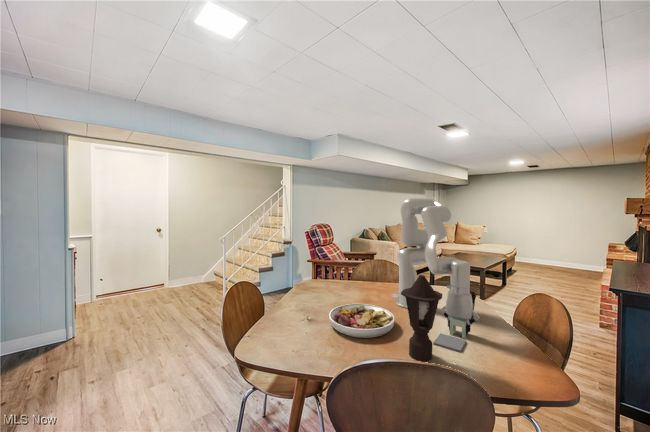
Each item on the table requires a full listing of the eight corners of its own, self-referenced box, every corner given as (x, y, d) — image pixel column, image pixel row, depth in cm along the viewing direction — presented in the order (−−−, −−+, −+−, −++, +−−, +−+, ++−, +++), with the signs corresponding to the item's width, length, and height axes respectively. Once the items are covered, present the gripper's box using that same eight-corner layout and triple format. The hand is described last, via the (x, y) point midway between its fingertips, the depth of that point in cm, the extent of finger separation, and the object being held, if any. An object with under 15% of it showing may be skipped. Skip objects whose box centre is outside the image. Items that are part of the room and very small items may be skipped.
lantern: (450, 366, 97) (452, 280, 95) (408, 368, 96) (409, 281, 94) (430, 344, 112) (432, 270, 110) (394, 346, 110) (395, 271, 109)
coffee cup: (478, 322, 133) (479, 295, 132) (459, 320, 135) (460, 294, 134) (472, 315, 141) (473, 289, 141) (455, 313, 143) (455, 288, 143)
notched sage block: (449, 334, 120) (450, 318, 120) (453, 329, 125) (453, 314, 125) (464, 338, 117) (465, 322, 116) (467, 333, 121) (468, 317, 121)
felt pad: (433, 344, 112) (433, 342, 112) (440, 335, 120) (440, 333, 120) (460, 352, 106) (460, 350, 106) (466, 342, 114) (466, 340, 114)
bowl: (356, 308, 151) (356, 294, 151) (406, 325, 130) (407, 309, 129) (315, 325, 130) (315, 308, 130) (367, 349, 109) (367, 329, 108)
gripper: (436, 288, 122) (435, 328, 123) (481, 296, 112) (479, 340, 112) (441, 284, 128) (440, 322, 129) (484, 291, 118) (482, 333, 118)
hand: (458, 330), depth 121 cm, fingers closed on notched sage block, 6 cm apart
